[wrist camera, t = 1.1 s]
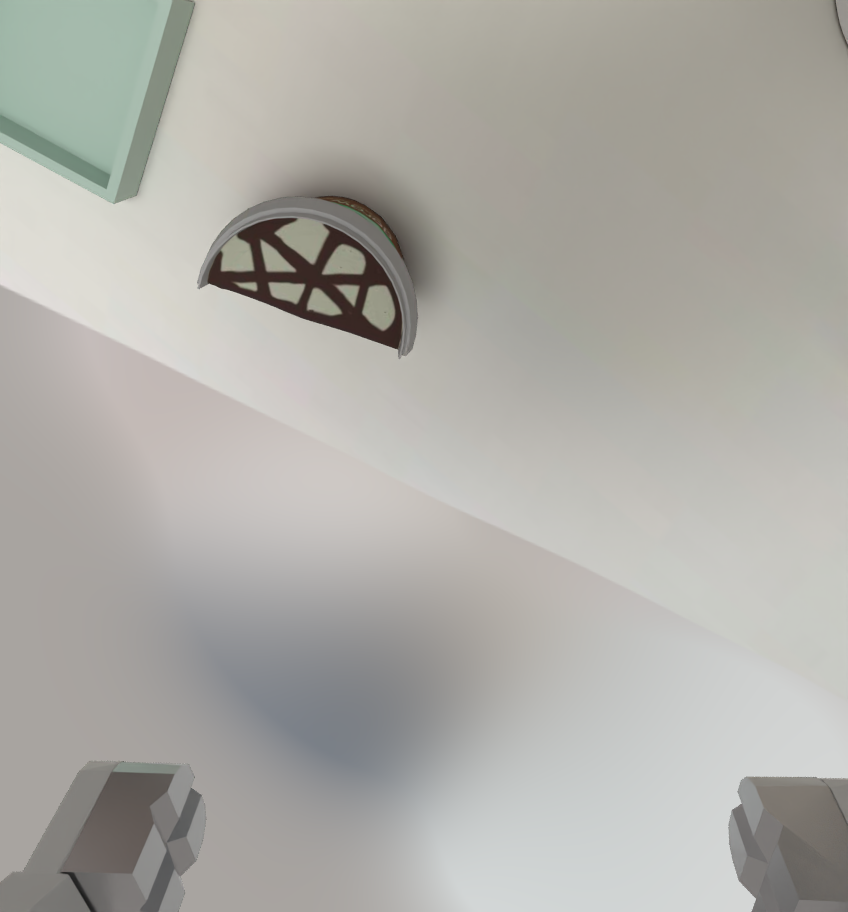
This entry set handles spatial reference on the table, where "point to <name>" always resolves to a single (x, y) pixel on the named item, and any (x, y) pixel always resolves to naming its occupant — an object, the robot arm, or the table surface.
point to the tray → (88, 85)
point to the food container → (319, 266)
